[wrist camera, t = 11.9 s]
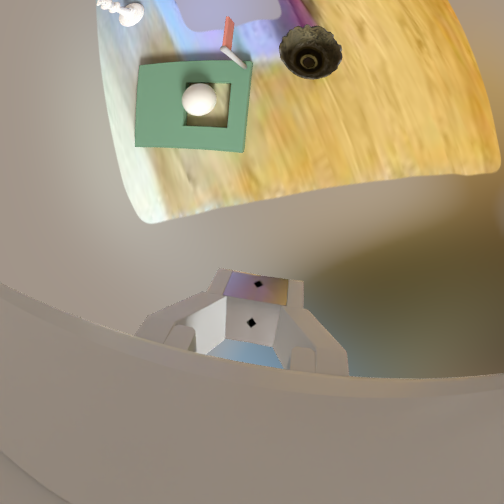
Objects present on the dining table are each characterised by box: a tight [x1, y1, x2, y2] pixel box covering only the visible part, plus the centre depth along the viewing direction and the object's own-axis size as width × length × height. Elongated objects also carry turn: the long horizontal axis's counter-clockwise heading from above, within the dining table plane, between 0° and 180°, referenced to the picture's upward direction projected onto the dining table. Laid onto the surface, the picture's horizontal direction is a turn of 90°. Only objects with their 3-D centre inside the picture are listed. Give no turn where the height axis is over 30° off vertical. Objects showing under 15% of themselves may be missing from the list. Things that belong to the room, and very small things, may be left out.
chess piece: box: [97, 0, 144, 27], centre depth 27 cm, size 5×5×10 cm
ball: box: [182, 83, 217, 116], centre depth 36 cm, size 5×5×5 cm
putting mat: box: [135, 17, 253, 153], centre depth 32 cm, size 17×18×14 cm
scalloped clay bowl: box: [279, 24, 342, 79], centre depth 30 cm, size 8×7×8 cm
